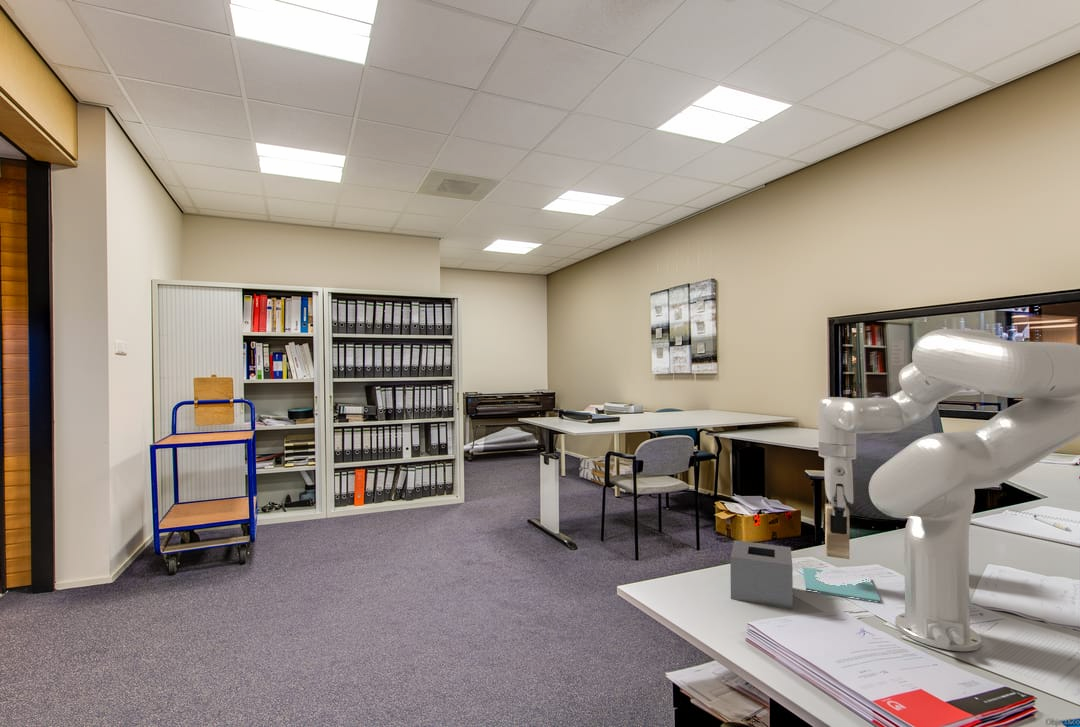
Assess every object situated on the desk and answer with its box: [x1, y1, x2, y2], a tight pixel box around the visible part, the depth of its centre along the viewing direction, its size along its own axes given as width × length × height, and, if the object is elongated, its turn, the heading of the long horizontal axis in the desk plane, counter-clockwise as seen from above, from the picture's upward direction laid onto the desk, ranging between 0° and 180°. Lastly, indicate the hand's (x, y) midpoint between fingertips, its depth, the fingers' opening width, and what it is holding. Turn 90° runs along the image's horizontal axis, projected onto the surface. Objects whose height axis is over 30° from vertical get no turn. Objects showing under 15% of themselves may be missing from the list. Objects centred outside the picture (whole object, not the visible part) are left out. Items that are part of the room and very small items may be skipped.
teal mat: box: [802, 566, 882, 603], centre depth 117 cm, size 14×14×1 cm
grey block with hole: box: [729, 539, 794, 610], centre depth 113 cm, size 12×12×9 cm
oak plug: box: [824, 503, 850, 560], centre depth 118 cm, size 4×4×11 cm
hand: (837, 529), depth 118 cm, fingers closed on oak plug, 4 cm apart
